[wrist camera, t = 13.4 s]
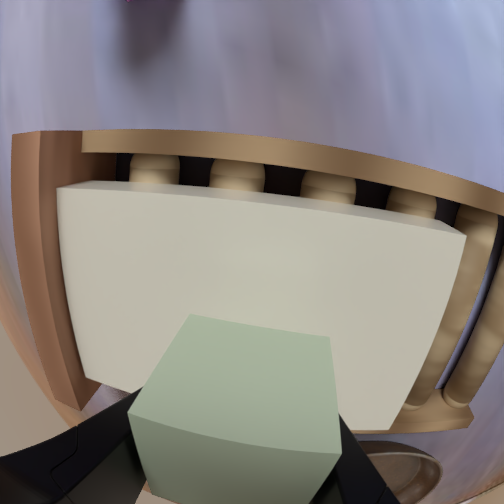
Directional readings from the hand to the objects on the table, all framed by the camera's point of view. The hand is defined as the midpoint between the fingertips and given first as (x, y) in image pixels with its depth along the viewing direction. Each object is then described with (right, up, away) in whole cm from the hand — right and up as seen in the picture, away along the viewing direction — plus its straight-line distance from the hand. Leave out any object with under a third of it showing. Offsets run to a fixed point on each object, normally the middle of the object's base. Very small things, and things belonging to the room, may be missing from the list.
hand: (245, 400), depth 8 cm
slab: (0, +2, +6) cm, 6 cm away
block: (0, 0, +1) cm, 1 cm away
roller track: (+4, +2, +8) cm, 9 cm away
